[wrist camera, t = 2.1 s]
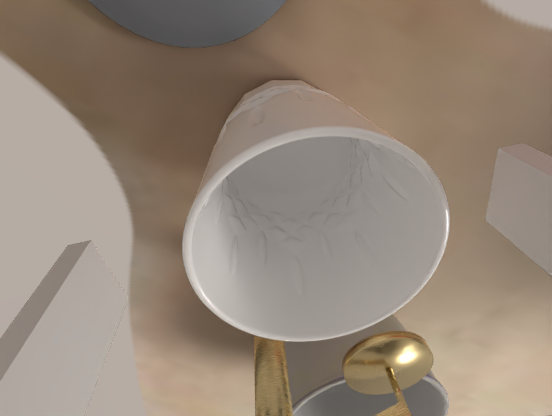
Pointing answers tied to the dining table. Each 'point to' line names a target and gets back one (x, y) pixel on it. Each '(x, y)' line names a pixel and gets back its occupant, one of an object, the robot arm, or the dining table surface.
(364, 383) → the balance
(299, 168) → the white cup
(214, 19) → the dish
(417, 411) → the teacup
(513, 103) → the dining table surface
